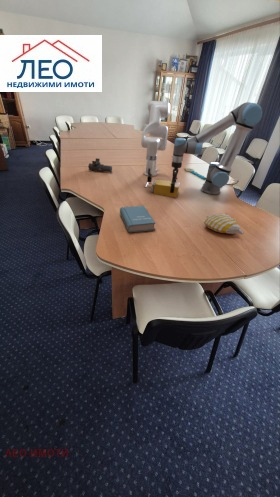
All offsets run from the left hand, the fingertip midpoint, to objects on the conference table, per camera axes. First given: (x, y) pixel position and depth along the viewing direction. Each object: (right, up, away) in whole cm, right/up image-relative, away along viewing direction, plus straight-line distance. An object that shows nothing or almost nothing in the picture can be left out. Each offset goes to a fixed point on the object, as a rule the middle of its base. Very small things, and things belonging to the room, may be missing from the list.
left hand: (149, 181), depth 175 cm
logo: (+49, +23, +48) cm, 73 cm away
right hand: (+19, -7, 0) cm, 20 cm away
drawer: (+8, -6, +3) cm, 11 cm away
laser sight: (-46, +21, +36) cm, 62 cm away
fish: (+44, -42, -40) cm, 72 cm away
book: (-10, -37, -38) cm, 54 cm away
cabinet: (+14, -8, +3) cm, 16 cm away
